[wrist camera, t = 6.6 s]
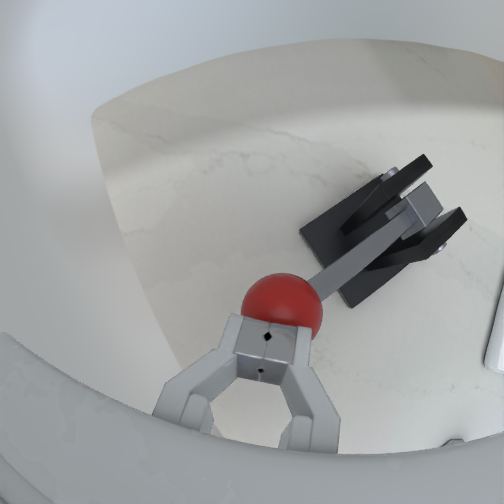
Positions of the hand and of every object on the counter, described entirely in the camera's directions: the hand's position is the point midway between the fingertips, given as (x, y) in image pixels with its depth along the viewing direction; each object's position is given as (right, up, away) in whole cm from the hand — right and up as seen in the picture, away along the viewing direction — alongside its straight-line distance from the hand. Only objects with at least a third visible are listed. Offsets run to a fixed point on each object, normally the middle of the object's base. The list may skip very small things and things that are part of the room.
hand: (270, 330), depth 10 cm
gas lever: (+5, +2, +5) cm, 7 cm away
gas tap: (+11, +4, +16) cm, 20 cm away
